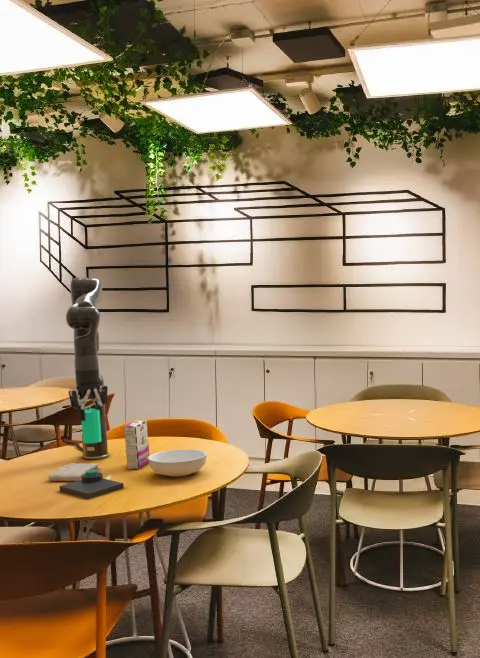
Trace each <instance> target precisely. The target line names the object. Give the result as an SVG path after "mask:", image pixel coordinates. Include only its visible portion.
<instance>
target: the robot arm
mask: <svg viewBox="0 0 480 658" xmlns="http://www.w3.org/2000/svg"><path fill="white" fill-rule="evenodd" d="M69 287H70V289H69V290H70V299H71V305H70V306H69V308H68V309H67V311H66V314H65V321H66V324H67V326H68V327H69V328H70V329H73V348H74V349H73V350H74V373H75V374H74V375H75V389H73V390H72V389H70V390H68V397H69V402H70V406H71V408H72V409H76V411H77V418H78V420H79V421H80V422H81V421H85V410H86V409H91V408H92V409H97V410H99V412H100V427H101V442H98V443H83V436H82V435H81V442H82V446H81V445H80V443H78V442H75V441H74V442H73V441H67V439H66V438H63V439H62V443H64V444H67V445H72V446H77V449H79V450H80V451H82V456H83V458H84V459H86V460H101V459H105V458H108V457H109V448H108V446H109V445H108V433H107V432H108V431H107V417H106V404H107V403H108V390H109V388H108V386H107V385H105V381H104V377H103V376H102V374H100V365H99V358H98V352H99V351H100V334H99V331H98V330H99V326H100V321H101V312H100V311H99V309H98V306H99V304H100V303H101V301H102V298H103V284H102V282H101V280H99V279H98V278H94V277H74V278H72V279H71V281H70V286H69ZM88 400H91V401H92V403H91V404H89V405H87V406H86V404H87V403H88Z"/></svg>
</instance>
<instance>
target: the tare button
mask: <svg viewBox="0 0 480 658" xmlns="http://www.w3.org/2000/svg"><path fill="white" fill-rule="evenodd" d="M98 470H99V469H98ZM98 470H88V471H86V477H94V476H98Z"/></svg>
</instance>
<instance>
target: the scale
mask: <svg viewBox="0 0 480 658" xmlns="http://www.w3.org/2000/svg"><path fill="white" fill-rule="evenodd" d="M81 478H82V480H79V481H71V482H69V483H65V484H62V485H59V488H58V489H59V492H61V493H64V494H69V495H72V496H76V497H79V498H83V499H87V500H91V499H94V498H97V497H100V496H102V495H103V496H104V495H107V494H110V493H113V492H116V491H120V490H123V489H124V488H125V487H124V482H120V481H115V480H111V479H107V478H104V477H103V472H98V476H94V477H86V474H83V475H82V476H81Z"/></svg>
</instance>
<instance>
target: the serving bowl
mask: <svg viewBox="0 0 480 658" xmlns="http://www.w3.org/2000/svg"><path fill="white" fill-rule="evenodd" d="M148 461H149V463H148V464H149V466H150V467H149V468H151V470H152V471H153V472H155V473H156V474H158V475H162V476H166V477H171V478H179V477H185V476H189V475H191V474H194V473H196V472H198V471H200V470H201V469H202V468H203V467H204V466H205V464H206V461H207V452H206V451H205V450H202V449H201V450H200V449H192V448H181V449H169V450H162V451H157V452H155V453H152V454H149V457H148Z"/></svg>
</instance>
